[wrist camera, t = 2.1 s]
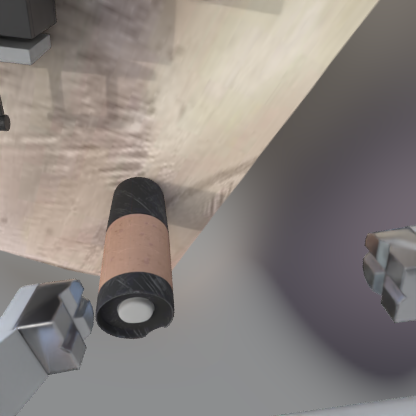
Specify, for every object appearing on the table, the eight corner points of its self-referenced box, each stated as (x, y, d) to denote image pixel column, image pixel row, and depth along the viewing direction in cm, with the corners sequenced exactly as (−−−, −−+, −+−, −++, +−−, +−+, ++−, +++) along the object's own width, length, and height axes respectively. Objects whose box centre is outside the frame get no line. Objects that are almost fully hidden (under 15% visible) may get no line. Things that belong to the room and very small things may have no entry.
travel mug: (116, 170, 44) (100, 287, 28) (171, 181, 46) (185, 295, 30) (107, 213, 48) (89, 338, 32) (158, 222, 50) (164, 341, 34)
